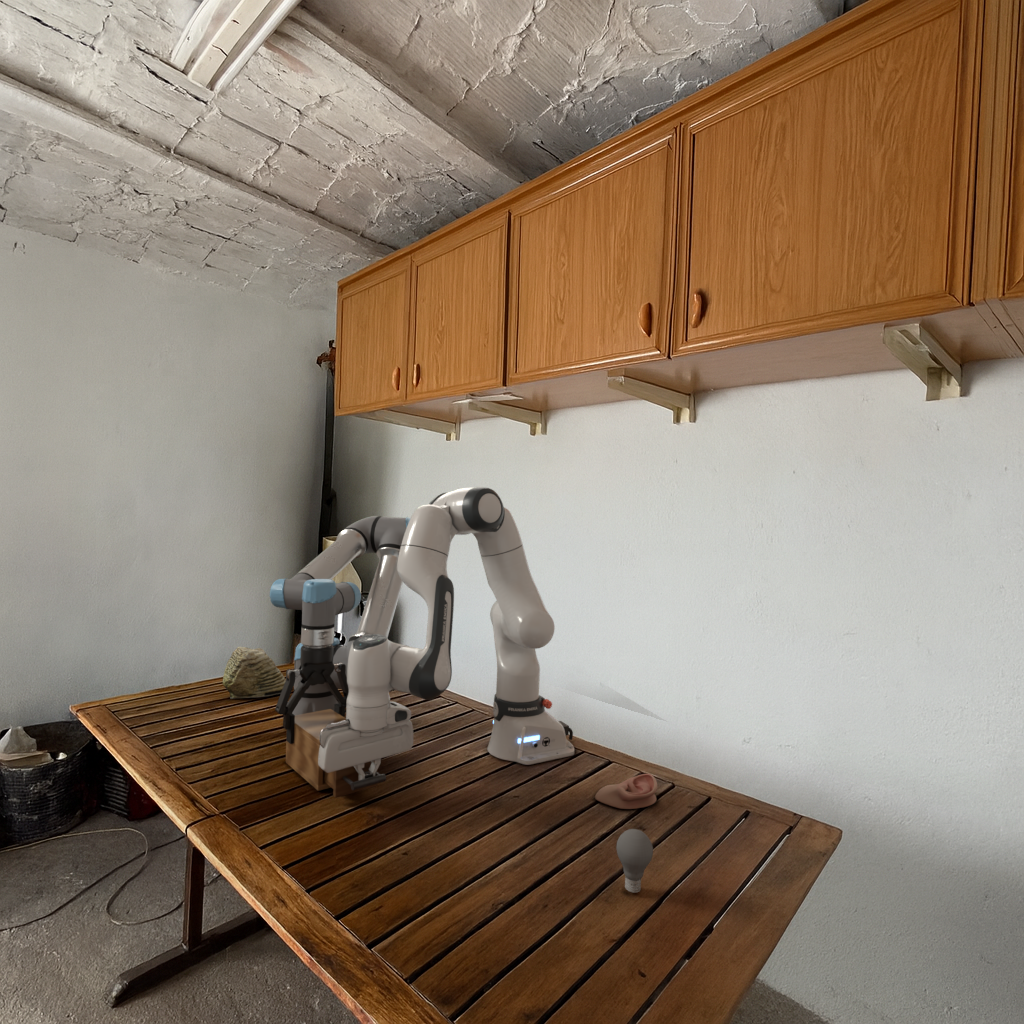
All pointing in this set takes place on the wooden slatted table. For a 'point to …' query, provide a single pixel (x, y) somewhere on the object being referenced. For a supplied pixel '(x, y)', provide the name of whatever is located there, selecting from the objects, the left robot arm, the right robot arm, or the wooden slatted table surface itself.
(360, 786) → the drawer
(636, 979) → the wooden slatted table surface
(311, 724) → the cabinet
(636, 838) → the light bulb
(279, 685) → the fossil
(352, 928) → the wooden slatted table surface
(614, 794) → the anatomical model
